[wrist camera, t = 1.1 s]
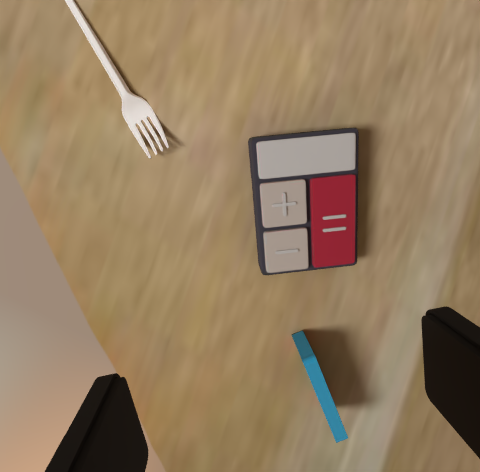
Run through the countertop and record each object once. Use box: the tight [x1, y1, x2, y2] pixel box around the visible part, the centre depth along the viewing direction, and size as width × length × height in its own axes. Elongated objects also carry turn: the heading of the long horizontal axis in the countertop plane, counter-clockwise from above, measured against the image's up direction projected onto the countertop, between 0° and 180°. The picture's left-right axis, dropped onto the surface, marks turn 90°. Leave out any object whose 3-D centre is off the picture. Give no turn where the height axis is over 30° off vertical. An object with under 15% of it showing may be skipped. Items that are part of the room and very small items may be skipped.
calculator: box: [248, 128, 358, 275], centre depth 36 cm, size 11×4×15 cm
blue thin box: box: [292, 330, 348, 443], centre depth 40 cm, size 12×2×6 cm, turn 22°
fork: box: [65, 0, 169, 158], centre depth 33 cm, size 3×20×2 cm, turn 29°
